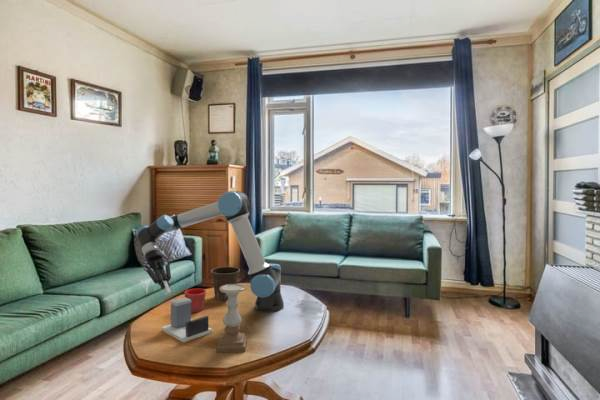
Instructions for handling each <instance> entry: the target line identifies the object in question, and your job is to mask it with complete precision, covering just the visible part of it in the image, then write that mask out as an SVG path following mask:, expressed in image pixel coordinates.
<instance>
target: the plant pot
mask: <svg viewBox="0 0 600 400" xmlns="http://www.w3.org/2000/svg"><path fill="white" fill-rule="evenodd" d="M240 271H241V270H240V268H238V267H235V266H222V267H221V266H220V267H216V268H213V269H211V270H210V273H211V278H212V283H213V293H214V299H215V300H217V301H220V302H221V301H223V302H224V301H227V300H228V296H227V295H226V293H223V292H221V291H220V290H219V288H220V287H221V286H223V285H227V284H239V283H238V282H239V281H238V280H239V275H240Z"/></svg>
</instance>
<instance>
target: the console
mask: <svg viewBox="0 0 600 400" xmlns="http://www.w3.org/2000/svg"><path fill="white" fill-rule="evenodd" d="M161 331H163V332H164V333H166V334H167V335H169V336H171V337H173V338H174V339H176V340H178V341H179V342H181V343H186V342H189V341H192V340H195V339H197V338H201V337H203V336H206V335H209V334H212V333H213V328H211V327H209V316H208V315H204V316H202V317H198V318H194V319H192V318H191V321H188V322H186V326H183V327H179V328H175V327H173V326H171V323H170V324H167V325H164V326H161Z"/></svg>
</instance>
